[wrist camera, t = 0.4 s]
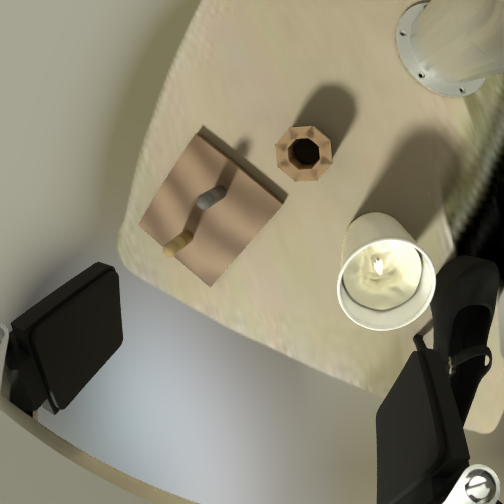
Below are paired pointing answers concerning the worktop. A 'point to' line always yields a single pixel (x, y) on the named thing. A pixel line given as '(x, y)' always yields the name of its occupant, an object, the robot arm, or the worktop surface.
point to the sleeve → (293, 164)
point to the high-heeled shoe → (464, 324)
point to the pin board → (208, 210)
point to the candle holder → (383, 274)
